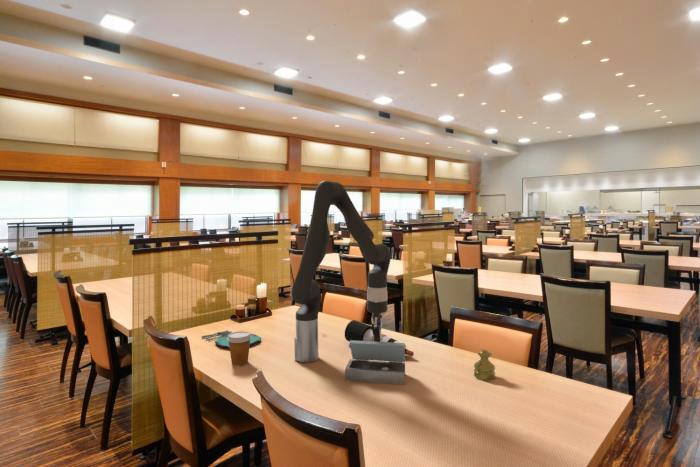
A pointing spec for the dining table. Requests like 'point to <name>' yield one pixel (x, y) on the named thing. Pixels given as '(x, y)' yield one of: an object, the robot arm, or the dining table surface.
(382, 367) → the dark grey tape roll
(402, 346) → the cover
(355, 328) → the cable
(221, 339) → the cutlery set
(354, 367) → the grey rectangular box
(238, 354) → the disposable coffee cup
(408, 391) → the dining table surface
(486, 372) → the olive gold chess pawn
